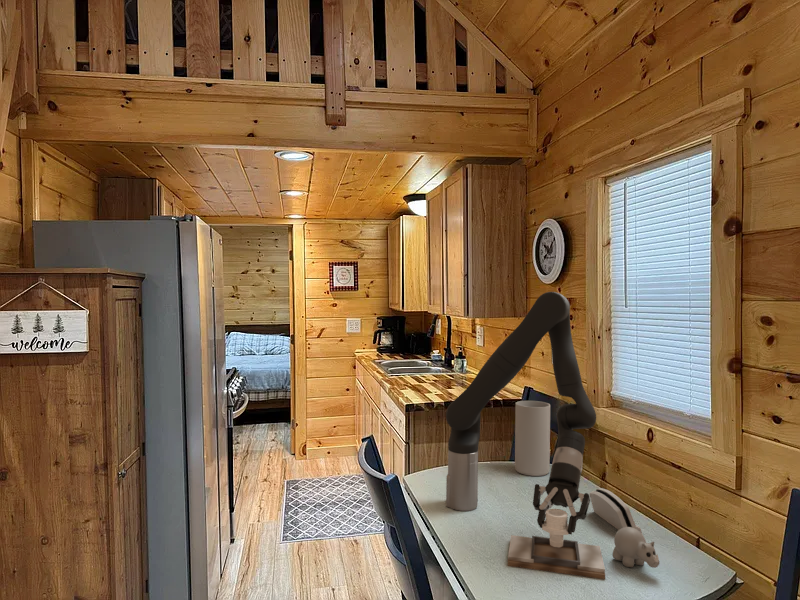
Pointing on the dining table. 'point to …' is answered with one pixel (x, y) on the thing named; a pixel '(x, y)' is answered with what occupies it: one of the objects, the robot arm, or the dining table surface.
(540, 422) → the cylinder vase
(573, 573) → the base
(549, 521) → the pipe fitting
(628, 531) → the chubby cartoon animal
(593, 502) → the white striped curved block
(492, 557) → the dining table surface
